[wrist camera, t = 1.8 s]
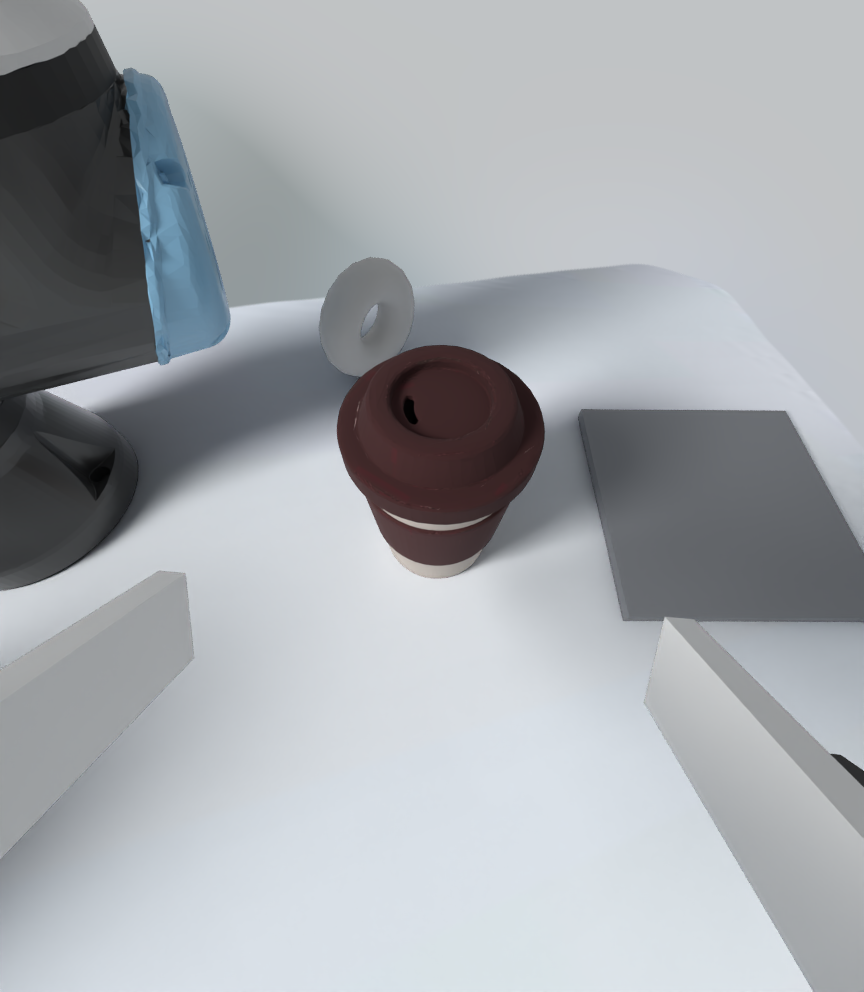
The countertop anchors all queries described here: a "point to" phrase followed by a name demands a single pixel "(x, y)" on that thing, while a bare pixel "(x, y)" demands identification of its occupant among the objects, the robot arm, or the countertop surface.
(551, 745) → the countertop surface
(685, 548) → the mat
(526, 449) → the coffee cup
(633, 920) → the countertop surface
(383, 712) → the countertop surface
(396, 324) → the donut
